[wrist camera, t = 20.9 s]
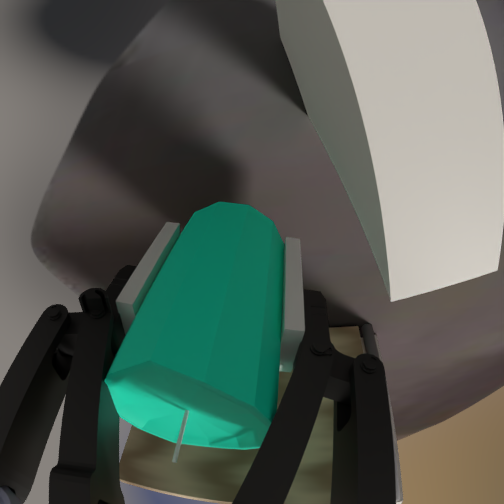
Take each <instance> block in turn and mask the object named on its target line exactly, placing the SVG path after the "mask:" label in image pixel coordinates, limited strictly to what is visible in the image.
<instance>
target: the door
mask: <svg viewBox="0 0 504 504" xmlns="http://www.w3.org/2000/svg"><path fill="white" fill-rule="evenodd" d="M329 333H330V340H331V343H332V344H333V345H334V347H335V349H336V350H337V351H339V352H340V353H342V354H344V355H347V356H350V357H353V358H356V357H357V356H358V355H360V354H363V348H362V343H361V338H360V333H359V327H358V326H353V327H334V328H329ZM292 373H293V368H292V371H291V372H282V371H279V385H278V402H277V409H278V406H279V404H280V402H281V399H282V397H283V395H284V392H285V390H286V387H287V385H288V383H289V380H290V378H291V375H292ZM333 416H334V402H333V400H331V399H328V398H325V397H323V399H322V402H321V405H320V409H319V412H318V415H317V418H316V421H315V424H314V427H313V430H312V433H311V435H310V438H309V441H308V444H307V447H306V449H305V452H304V455H303V457H302V460H301V463H300V465H299V468H298V470H297V473H296V476H295V478H294V481H293V483H292V485H291V488H290V490H289V493H288V495H287V497H286V500H285V502H284V504H330V500H331V484H332V462H333ZM175 447H176V443H173V442H171V441H168V440H165V439H163V438H160V437H158V436H155V435H153V434H150V433H148V432H145V431H143V430H141V429H138V428H137V427H135V426H133V425H132V427H131V430H130V433H129V436H128V439H127V442H126V445H125V448H124V451H123V454H122V457H121V460H120V463H119V476H120V481H122V482H124V483H127V484H130V485H134V486H137V487H141V488H145V489H149V490H152V491H156V492H161V493H164V494H169V495H174V496H178V497H184V498H189V499H195V500H201V501H206V502H213V503H221V504H232V502H233V501H234V499H235V497H236V495H237V493H238V491H239V489H240V487H241V485H242V483H243V481H244V479H245V477H246V475H247V473H248V471H249V469H250V467H251V465H252V463H253V461H254V459H255V457H256V455H257V453H258V451H259V449H260V448H256V449H247V450H241V449H225V448H214V447H204V446H195V445H187V444H181V446H180V450H179V455H178V459H177V463H173V462H172V459H173V455H174V451H175Z"/></svg>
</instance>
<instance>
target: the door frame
mask: <svg viewBox="0 0 504 504" xmlns="http://www.w3.org/2000/svg"><path fill="white" fill-rule="evenodd" d="M275 1H276V9H277V16H278V24H279V32H280V39H281V41H282V44H283V46H284V49H285V51H286V54H287V57H288V59H289V62H290V65H291V68H292V70H293V73H294V76H295V79H296V82H297V85H298V87H299V90H300V93H301V96H302V99H303V102H304V105H305V108H306V111H307V115H308V117H309V119H310V121H311V123H312V124H313V126H314V128H315V130H316V132H317V134H318V136H319V137H320V139H321V141H322V143H323V145H324V147H325V149H326V151H327V153H328V155H329V157H330V159H331V161H332V163H333V165H334V167H335V169H336V171H337V173H338V175H339V177H340V179H341V181H342V183H343V185H344V188H345V190H346V192H347V194H348V196H349V198H350V201H351V203H352V205H353V207H354V209H355V212H356V214H357V216H358V219H359V221H360V223H361V226H362V228H363V230H364V233H365V235H366V237H367V240H368V242H369V245H370V247H371V250H372V252H373V255H374V257H375V260H376V262H377V265H378V268H379V270H380V273H381V276H382V278H383V281H384V284H385V286H386V289H387V292H388V295H389V298H390V301H391V302H392V301H396V300H400V299H404V298H408V297H411V296H415V295H419V294H422V293H426V292H429V291H433V290H436V289H440V288H443V287H447V286H450V285H453V284H457V283H460V282H463V281H466V280H469V279H473V278H476V277H479V276H482V275H485V274H488V273H491V272H494V271H497V270H498V264H499V257H500V250H501V242H502V233H503V223H504V126H503V116H502V107H501V100H500V93H499V87H498V81H497V75H496V70H495V65H494V61H493V56H492V52H491V48H490V44H489V40H488V36H487V33H486V29H485V26H484V23H483V19H482V16H481V13H480V10H479V7H478V4H477V2H476V0H275ZM361 330H362V335H363V337H362V338H361V343H362V348H363V354H364V353H368V354H372V355H374V356H376V357H378V358H379V359H380V360H381V361H382V357H381V353H380V348H379V344H378V340H377V335H376V334H375V335H374V332H373V328H372V325H371V324H365V325H363V326H362V327H361ZM382 363H383V362H382ZM385 377H386V376H385ZM386 384H387V381H386ZM387 391H388V386H387ZM388 398H389V406H390V415H391V425H392V435H393V447H394V461H395V481H396V504H401V503H402V502H403V494H402V482H401V472H400V463H399V454H398V447H397V439H396V433H395V426H394V420H393V414H392V408H391V402H390V397H389V391H388Z"/></svg>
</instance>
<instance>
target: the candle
mask: <svg viewBox="0 0 504 504" xmlns="http://www.w3.org/2000/svg"><path fill="white" fill-rule="evenodd" d="M283 269H284V243H283V241H282V239H281V237H280V235H279V233H278V230H277V228H276V226H275V224H274V222H273V221H272V220H271V219H269V218H268V217H266V216H265V215H263V214H262V213H260V212H259V211H257V210H256V209H254V208H253V207H251V206H250V205H246V204H237V203H228V202H217V203H215V204H212V205H210V206H208V207H205V208H203V209H201V210H198V211H196V212H194V214H193V215H192V217H191V218H190V220H189V221H188V223H187V224H186V226H185V228H184V229H183V231H182V232H181V234H180V236H179V237H178V239H177V241H176V243H175V244H174V246H173V248H172V250H171V251H170V253H169V255H168V257H167V259H166V260H165V262H164V264H163V266H162V267H161V269H160V271H159V273H158V275H157V277H156V278H155V280H154V282H153V284H152V286H151V288H150V289H149V291H148V293H147V295H146V297H145V299H144V301H143V303H142V305H141V306H140V308H139V310H138V312H137V314H136V316H135V318H134V320H133V322H132V324H131V326H130V328H129V330H128V332H127V334H126V336H125V338H124V340H123V342H122V344H121V346H120V348H119V350H118V352H117V354H116V356H115V358H114V360H113V362H112V364H111V367H110V369H109V371H108V373H107V376H106V378H105V380H104V382H105V383H106V384H107V386H108V388H109V391H110V394H111V397H112V399H113V402H114V405H115V408H116V410H117V413H118V414H119V417H121V418H122V419H124V420H125V421H127V422H129V423H130V424H132V425H133V426H135V427H137V428H138V429H141V430H143V431H145V432H148V433H150V434H153V435H155V436H158V437H160V438H163V439H165V440H168V441H171V442H173V443H176V447H175V451H174V455H173V459H172V462H173V463H177V459H178V455H179V450H180V446H181V444H187V445H195V446H204V447H214V448H225V449H241V450H247V449H256V448H260V446H261V444H262V442H263V440H264V438H265V436H266V433H267V431H268V429H269V427H270V425H271V422H272V420H273V418H274V416H275V413H276V411H277V402H278V385H279V368H280V348H281V327H282V302H283Z"/></svg>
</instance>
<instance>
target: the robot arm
mask: <svg viewBox="0 0 504 504" xmlns="http://www.w3.org/2000/svg"><path fill="white" fill-rule="evenodd" d="M179 236H180V223H172V222H166V224H165V225H164V227H163V228H162V229H161V231H160V232H159V234H158V235H157V237H156V238H155V240H154V241H153V243H152V244H151V246H150V247H149V249H148V250H147V252H146V253H145V255H144V256H143V258H142V260H141V261H140V263H139V264H138V266H131V265H127V266H125V267H124V268H122V269H121V270H120V271H119V272H118V274H117V275H116V277H115V279H113V281H112V282H111V284H110V285H109V287H108V288H107V290H106V291H105V290H103V289H101V288H91V289H88V290H86V291H84V292H83V293H82V294H81V295H80V297H79V301H80V305H81V307H82V310H83V312H77V313H76V312H75V313H68V310H67V308H66V307H65V306H63V305H61V304H56V305H52V306H50V307H48V308H47V309H46V310H45V311H44V312H43V314H42V315H41V317H40V318H39V320H38V322H37V323H36V324H35V326H34V328H33V329H32V331H31V333H30V334H29V336H28V337H27V339H26V341H25V342H24V344H23V346H22V347H21V349H20V351H19V353H18V355H17V356H16V358H15V360H14V361H13V363H12V365H11V367H10V369H9V370H8V372H7V374H6V376H5V378H4V380H3V382H2V384H1V386H0V504H23V503H24V502H25V500H26V498H27V496H28V495H29V492H30V491H31V488H32V485H33V482H34V479H35V476H36V473H37V470H38V467H39V464H40V461H41V458H42V455H43V452H44V449H45V446H46V443H47V440H48V438H49V435H50V432H51V429H52V427H53V424H54V421H55V419H56V416H57V414H58V411H59V409H60V406H61V404H62V401H63V399H64V397H65V394H66V397H65V404H64V412H63V418H62V427H61V436H60V446H59V460H58V464H57V465H56V466H55V467H53V468H52V470H51V472H50V478H49V504H125V502H124V497H123V494H122V491H121V488H120V476H119V414H118V413H117V410H116V408H115V405H114V402H113V399H112V397H111V394H110V391H109V388H108V386H107V384H106V383H105V382H104V380H105V378H106V376H107V373H108V371H109V369H110V367H111V364H112V362H113V360H114V358H115V356H116V354H117V352H118V350H119V348H120V346H121V344H122V342H123V340H124V338H125V336H126V334H127V332H128V330H129V328H130V326H131V324H132V322H133V320H134V318H135V316H136V314H137V312H138V310H139V308H140V306H141V305H142V303H143V301H144V299H145V297H146V295H147V293H148V291H149V289H150V288H151V286H152V284H153V282H154V280H155V278H156V277H157V275H158V273H159V271H160V269H161V267H162V266H163V264H164V262H165V260H166V259H167V257H168V255H169V253H170V251H171V250H172V248H173V246H174V244H175V243H176V241H177V239H178V237H179ZM292 368H293V373H292V375H291V378H290V380H289V383H288V385H287V387H286V390H285V392H284V395H283V397H282V399H281V402H280V404H279V406H278V409H277V411H276V413H275V416H274V418H273V420H272V422H271V425H270V427H269V429H268V431H267V433H266V436H265V438H264V440H263V442H262V444H261V446H260V449H259V451H258V453H257V455H256V457H255V459H254V461H253V463H252V465H251V467H250V469H249V471H248V473H247V475H246V477H245V479H244V481H243V483H242V485H241V487H240V489H239V491H238V493H237V495H236V497H235V499H234V501H233V502H232V504H284V502H285V500H286V497H287V495H288V493H289V490H290V488H291V485H292V483H293V481H294V478H295V476H296V473H297V470H298V468H299V465H300V463H301V460H302V457H303V455H304V452H305V449H306V447H307V444H308V441H309V438H310V435H311V433H312V430H313V427H314V424H315V421H316V418H317V415H318V412H319V409H320V405H321V402H322V399H323V397H325V398H328V399H331V400H333V402H334V416H333V462H332V484H331V500H330V504H396V481H395V461H394V447H393V435H392V425H391V415H390V406H389V398H388V391H387V384H386V377H385V370H384V366H383V363H382V361H381V360H380V359H379V358H378V357H376V356H374V355H372V354H368V353H364V354H360V355H358V356H357V357H356V358H353V357H350V356H347V355H344V354H342V353H340V352H339V351H337V350H336V349H335V347H334V345H333V344H332V343H331V340H330V333H329V324H328V316H327V309H326V300H325V298H324V296H323V295H322V293H321V292H319V291H311V290H303V279H302V262H301V247H300V239H297V238H290V237H286V240H285V245H284V269H283V302H282V327H281V348H280V368H279V371H282V372H291V371H292Z"/></svg>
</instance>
